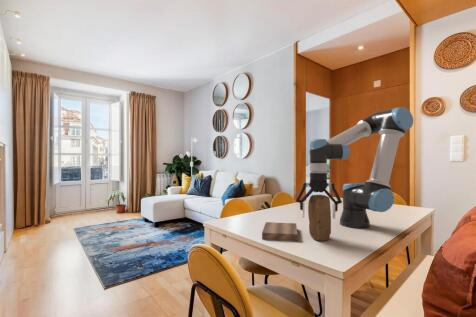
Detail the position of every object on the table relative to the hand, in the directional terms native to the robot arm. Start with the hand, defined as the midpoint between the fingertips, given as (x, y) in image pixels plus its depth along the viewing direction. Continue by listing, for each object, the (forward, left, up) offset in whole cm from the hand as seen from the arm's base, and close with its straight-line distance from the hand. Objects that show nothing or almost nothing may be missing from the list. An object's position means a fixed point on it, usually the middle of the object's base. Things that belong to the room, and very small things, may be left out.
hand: (318, 217), depth 115 cm
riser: (+18, -4, -10) cm, 21 cm away
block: (0, 0, -10) cm, 10 cm away
